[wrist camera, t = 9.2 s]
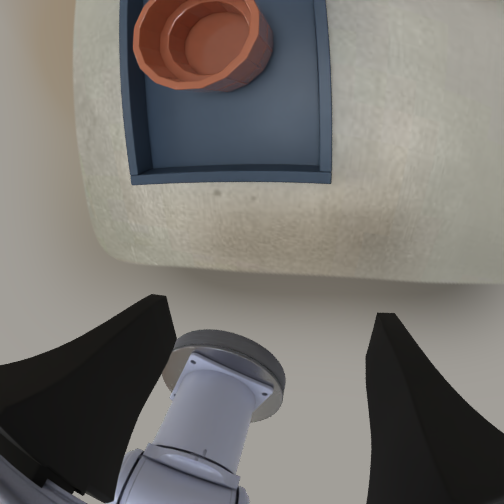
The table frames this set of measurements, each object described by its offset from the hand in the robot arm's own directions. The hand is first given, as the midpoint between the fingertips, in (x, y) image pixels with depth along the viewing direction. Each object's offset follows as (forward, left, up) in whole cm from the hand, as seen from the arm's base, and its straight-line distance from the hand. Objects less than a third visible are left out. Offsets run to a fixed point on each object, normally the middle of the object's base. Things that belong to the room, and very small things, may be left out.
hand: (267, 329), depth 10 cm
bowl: (+8, +8, -9) cm, 14 cm away
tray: (+8, +8, -9) cm, 15 cm away
